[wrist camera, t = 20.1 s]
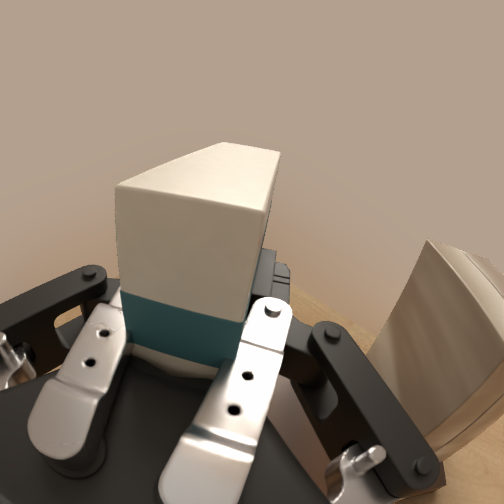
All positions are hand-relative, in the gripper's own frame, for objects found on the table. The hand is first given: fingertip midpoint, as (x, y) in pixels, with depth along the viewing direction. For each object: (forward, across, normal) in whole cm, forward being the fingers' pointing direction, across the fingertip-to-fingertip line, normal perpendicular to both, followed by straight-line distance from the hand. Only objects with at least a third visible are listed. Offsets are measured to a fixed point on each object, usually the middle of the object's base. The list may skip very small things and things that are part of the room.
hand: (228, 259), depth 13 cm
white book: (-3, 0, +7) cm, 8 cm away
